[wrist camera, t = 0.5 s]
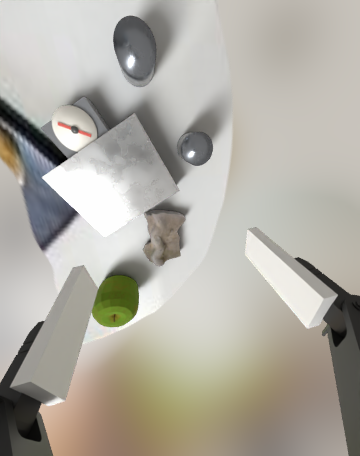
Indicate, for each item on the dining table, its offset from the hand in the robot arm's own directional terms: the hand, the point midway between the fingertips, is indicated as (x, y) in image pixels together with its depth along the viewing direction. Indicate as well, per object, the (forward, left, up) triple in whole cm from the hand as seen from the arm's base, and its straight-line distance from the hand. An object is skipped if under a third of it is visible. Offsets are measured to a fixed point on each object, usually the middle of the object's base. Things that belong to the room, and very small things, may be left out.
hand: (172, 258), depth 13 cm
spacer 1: (-16, +8, -24) cm, 30 cm away
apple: (+19, -24, -24) cm, 39 cm away
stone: (+12, -5, -25) cm, 28 cm away
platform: (-4, -5, -21) cm, 22 cm away
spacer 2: (-2, +10, -24) cm, 26 cm away
